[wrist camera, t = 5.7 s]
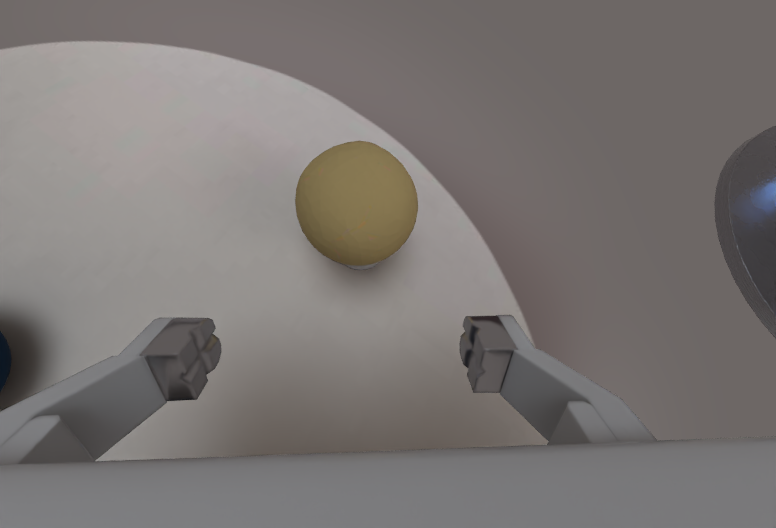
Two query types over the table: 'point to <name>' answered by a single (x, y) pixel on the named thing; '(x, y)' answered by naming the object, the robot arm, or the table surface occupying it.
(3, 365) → the christmas ornament
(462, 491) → the robot arm
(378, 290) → the table surface
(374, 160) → the light bulb
